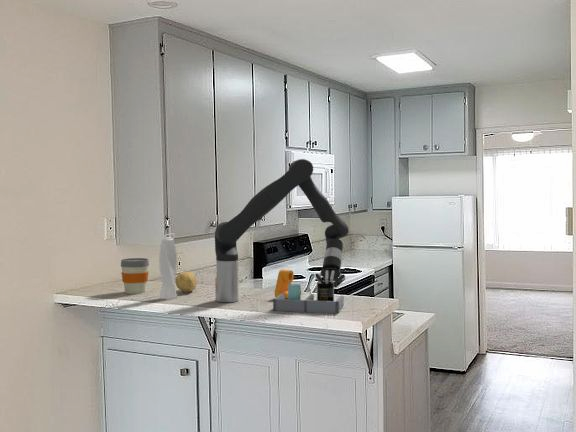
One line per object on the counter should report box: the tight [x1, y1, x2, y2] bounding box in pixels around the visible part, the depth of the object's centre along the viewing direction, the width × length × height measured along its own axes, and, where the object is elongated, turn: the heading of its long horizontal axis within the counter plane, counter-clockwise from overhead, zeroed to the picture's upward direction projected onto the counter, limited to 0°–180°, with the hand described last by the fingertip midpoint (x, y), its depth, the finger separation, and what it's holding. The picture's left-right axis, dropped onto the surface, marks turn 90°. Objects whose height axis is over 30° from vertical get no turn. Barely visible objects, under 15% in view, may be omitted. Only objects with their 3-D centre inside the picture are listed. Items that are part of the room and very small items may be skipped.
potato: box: [175, 270, 198, 293], centre depth 285 cm, size 10×14×10 cm
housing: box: [272, 283, 345, 314], centre depth 245 cm, size 14×26×9 cm, turn 77°
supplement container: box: [316, 280, 335, 301], centre depth 245 cm, size 7×7×10 cm
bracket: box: [274, 269, 295, 299], centre depth 270 cm, size 11×7×12 cm, turn 147°
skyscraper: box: [158, 232, 178, 301], centre depth 268 cm, size 8×8×28 cm
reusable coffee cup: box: [120, 257, 150, 295], centre depth 284 cm, size 13×13×15 cm
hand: (327, 294), depth 252 cm, fingers closed
